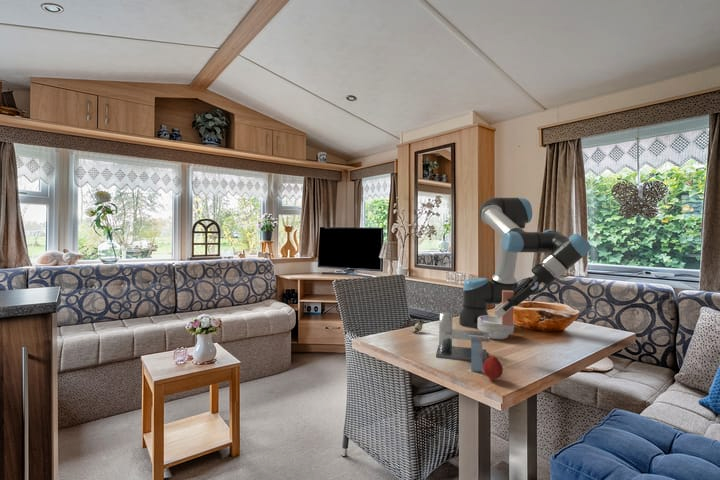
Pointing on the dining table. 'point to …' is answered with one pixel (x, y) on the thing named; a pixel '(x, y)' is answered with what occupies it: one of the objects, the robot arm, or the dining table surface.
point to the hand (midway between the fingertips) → (496, 314)
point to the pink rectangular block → (508, 317)
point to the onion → (492, 368)
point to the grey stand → (461, 353)
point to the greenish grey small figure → (418, 326)
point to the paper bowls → (494, 327)
